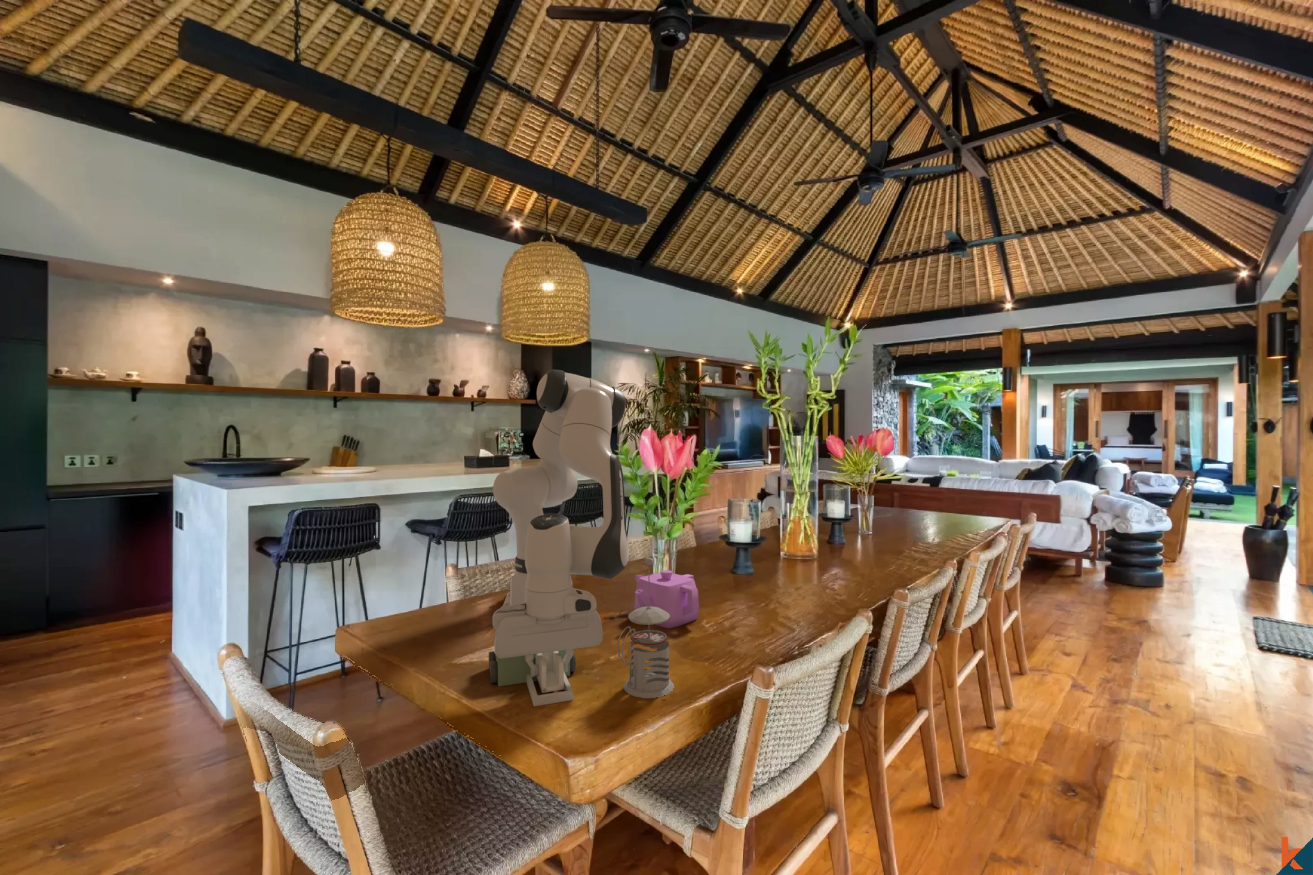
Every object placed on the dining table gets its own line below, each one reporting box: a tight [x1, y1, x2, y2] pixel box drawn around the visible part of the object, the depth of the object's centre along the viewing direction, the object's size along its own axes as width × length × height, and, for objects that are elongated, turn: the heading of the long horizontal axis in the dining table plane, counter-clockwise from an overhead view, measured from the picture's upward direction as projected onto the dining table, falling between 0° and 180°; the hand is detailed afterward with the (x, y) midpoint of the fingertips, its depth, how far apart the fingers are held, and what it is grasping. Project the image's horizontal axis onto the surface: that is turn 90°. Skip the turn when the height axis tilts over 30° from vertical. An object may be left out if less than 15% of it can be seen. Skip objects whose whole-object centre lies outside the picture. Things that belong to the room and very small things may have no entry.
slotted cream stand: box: [536, 651, 564, 694], centre depth 109 cm, size 8×4×5 cm, turn 20°
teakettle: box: [633, 569, 700, 629], centre depth 150 cm, size 17×17×12 cm
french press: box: [616, 557, 675, 699], centre depth 110 cm, size 10×12×25 cm
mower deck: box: [488, 637, 577, 707], centre depth 112 cm, size 20×16×9 cm
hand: (549, 673), depth 109 cm, fingers closed on slotted cream stand, 4 cm apart
